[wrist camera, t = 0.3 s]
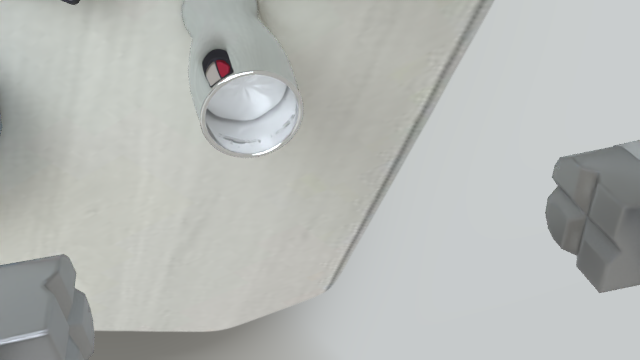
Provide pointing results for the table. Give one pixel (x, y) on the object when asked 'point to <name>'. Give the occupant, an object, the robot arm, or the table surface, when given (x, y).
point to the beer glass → (240, 79)
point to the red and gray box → (71, 1)
